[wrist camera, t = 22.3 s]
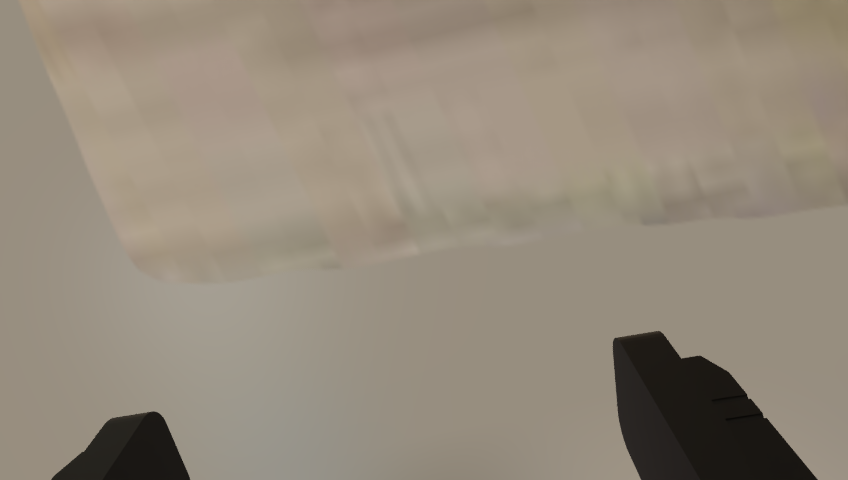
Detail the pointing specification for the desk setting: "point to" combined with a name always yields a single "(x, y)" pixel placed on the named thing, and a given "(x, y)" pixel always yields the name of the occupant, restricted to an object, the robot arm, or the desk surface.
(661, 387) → the robot arm
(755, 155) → the desk surface
